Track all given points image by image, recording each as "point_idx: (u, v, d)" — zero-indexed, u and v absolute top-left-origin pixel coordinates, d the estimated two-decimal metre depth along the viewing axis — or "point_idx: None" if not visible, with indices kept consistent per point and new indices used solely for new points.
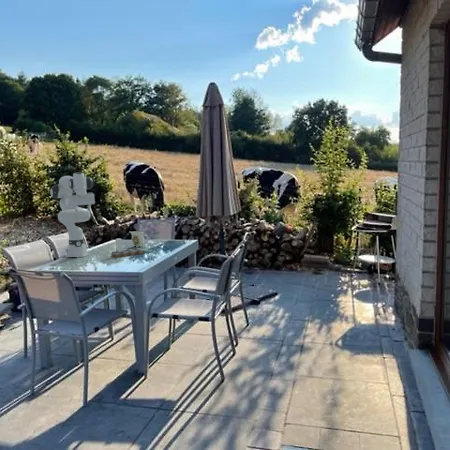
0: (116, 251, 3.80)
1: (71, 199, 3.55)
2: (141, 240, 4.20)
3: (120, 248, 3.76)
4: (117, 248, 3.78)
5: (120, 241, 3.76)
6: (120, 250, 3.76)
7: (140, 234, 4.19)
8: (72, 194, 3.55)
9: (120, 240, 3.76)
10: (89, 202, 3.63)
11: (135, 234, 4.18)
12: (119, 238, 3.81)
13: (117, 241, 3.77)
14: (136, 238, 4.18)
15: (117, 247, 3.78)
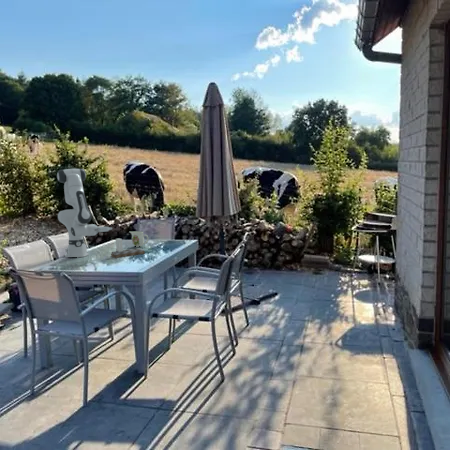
0: (116, 251, 3.80)
1: None
2: (141, 240, 4.20)
3: (120, 248, 3.76)
4: (117, 248, 3.78)
5: (120, 241, 3.76)
6: (120, 250, 3.76)
7: (140, 234, 4.19)
8: None
9: (120, 240, 3.76)
10: None
11: (135, 234, 4.18)
12: (119, 238, 3.81)
13: (117, 241, 3.77)
14: (136, 238, 4.18)
15: (117, 247, 3.78)
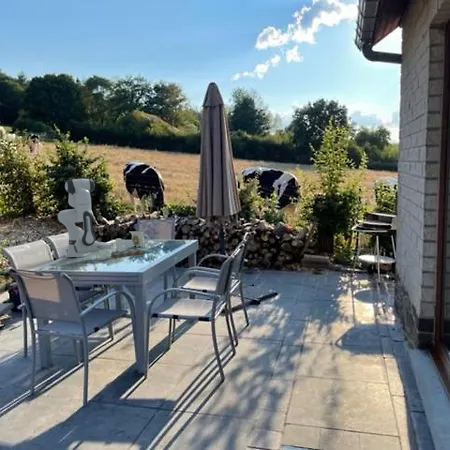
0: (116, 251, 3.80)
1: None
2: (141, 240, 4.20)
3: (120, 248, 3.76)
4: (117, 248, 3.78)
5: (120, 241, 3.76)
6: (120, 250, 3.76)
7: (140, 234, 4.19)
8: None
9: (120, 240, 3.76)
10: None
11: (135, 234, 4.18)
12: (119, 238, 3.81)
13: (117, 241, 3.77)
14: (136, 238, 4.18)
15: (117, 247, 3.78)
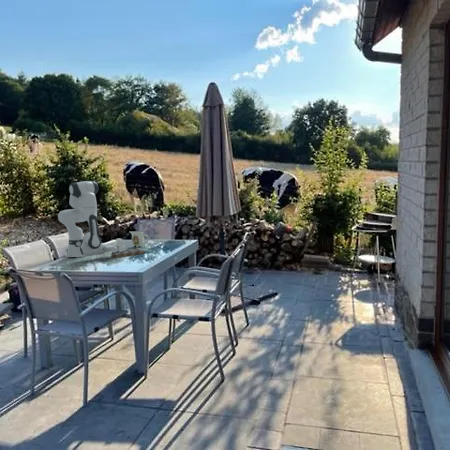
0: None
1: None
2: (141, 240, 4.20)
3: (120, 248, 3.76)
4: (117, 248, 3.79)
5: (120, 241, 3.76)
6: (120, 250, 3.76)
7: (140, 234, 4.19)
8: None
9: (120, 240, 3.76)
10: None
11: (135, 234, 4.18)
12: (119, 238, 3.81)
13: (117, 241, 3.77)
14: (136, 238, 4.18)
15: None
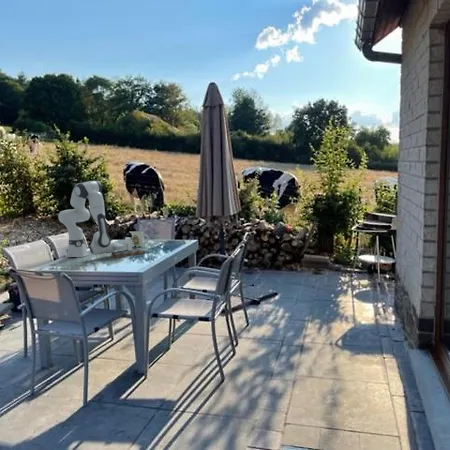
0: (125, 250, 3.84)
1: None
2: (141, 240, 4.20)
3: (129, 247, 3.80)
4: (126, 247, 3.83)
5: (129, 240, 3.80)
6: (129, 249, 3.81)
7: (140, 234, 4.19)
8: None
9: (129, 239, 3.80)
10: None
11: (135, 234, 4.18)
12: (128, 237, 3.85)
13: (126, 240, 3.81)
14: (136, 238, 4.18)
15: None
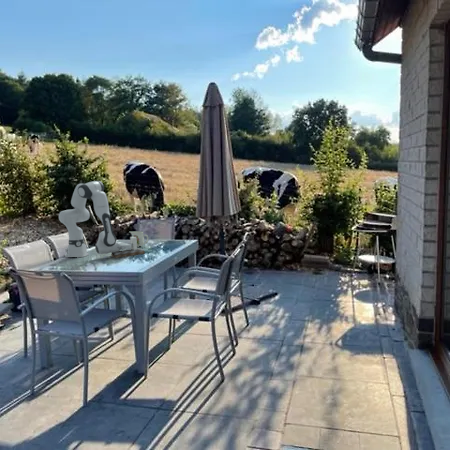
0: None
1: None
2: (141, 240, 4.20)
3: (134, 246, 3.83)
4: (131, 246, 3.85)
5: (135, 239, 3.82)
6: (134, 248, 3.83)
7: (140, 234, 4.19)
8: None
9: (135, 238, 3.82)
10: None
11: (135, 234, 4.18)
12: None
13: (132, 239, 3.84)
14: None
15: None
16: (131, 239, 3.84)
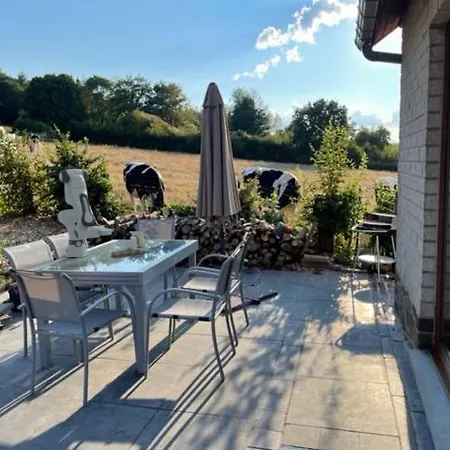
0: None
1: None
2: (141, 240, 4.20)
3: (135, 246, 3.83)
4: (131, 246, 3.85)
5: (135, 239, 3.82)
6: (134, 248, 3.83)
7: (140, 234, 4.19)
8: None
9: (135, 238, 3.82)
10: None
11: (135, 234, 4.18)
12: None
13: (132, 239, 3.84)
14: None
15: (131, 245, 3.85)
16: (131, 239, 3.85)
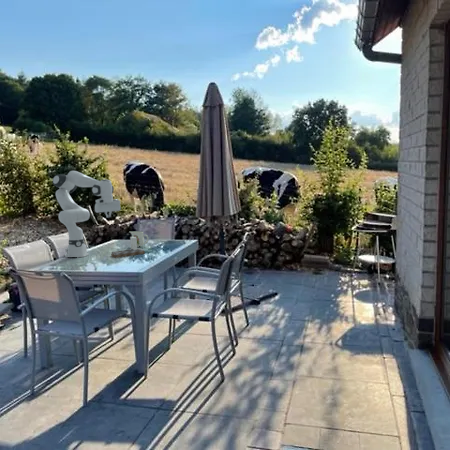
0: None
1: (98, 206, 3.66)
2: (141, 240, 4.20)
3: (135, 246, 3.83)
4: (131, 246, 3.85)
5: (135, 239, 3.82)
6: (134, 248, 3.83)
7: (140, 234, 4.19)
8: (99, 201, 3.65)
9: (135, 238, 3.82)
10: (115, 209, 3.74)
11: (135, 234, 4.18)
12: None
13: (132, 239, 3.84)
14: None
15: (131, 245, 3.85)
16: (131, 239, 3.85)
